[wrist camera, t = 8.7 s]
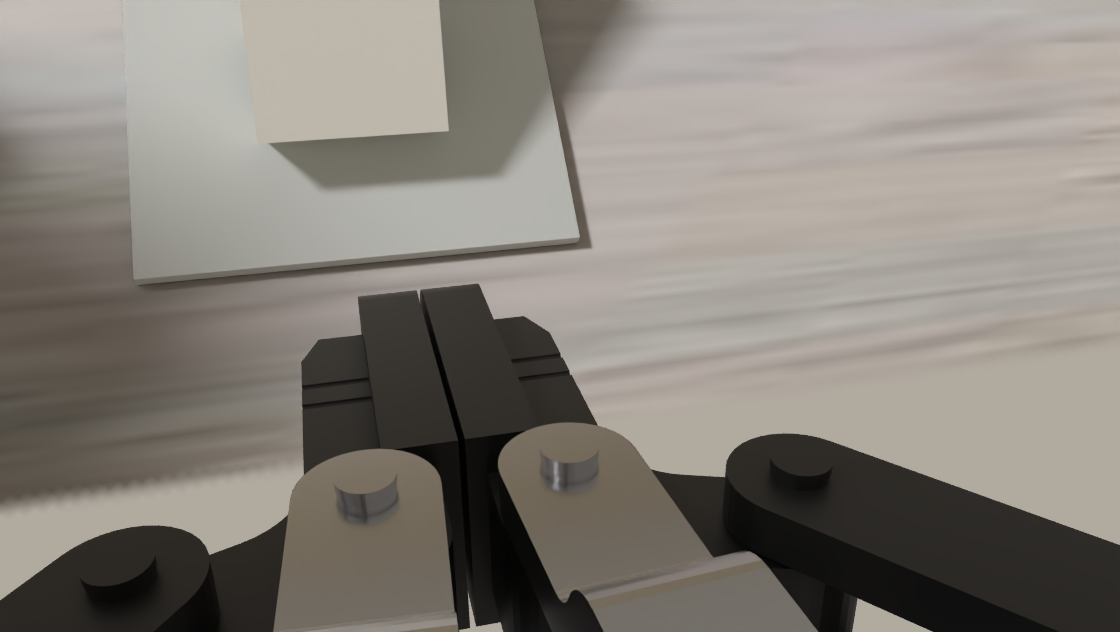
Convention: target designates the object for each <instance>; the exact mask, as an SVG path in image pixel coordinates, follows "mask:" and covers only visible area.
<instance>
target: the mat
mask: <svg viewBox="0 0 1120 632" xmlns="http://www.w3.org/2000/svg"><path fill="white" fill-rule="evenodd" d="M439 8H440V22H441V35H442V48H443V61H444V74H445V87H446V101H447V114H448V127H449V131H443V132H428V133H413V134H398V135H382V136H367V137H352V138H337V139H322V140H307V141H292V142H276V143H261V144H258V143H257V135H256V127H255V119H254V111H253V103H252V95H251V87H250V80H249V72H248V64H247V56H246V48H245V40H244V32H243V24H242V16H241V9H240V1H239V0H122V21H123V45H124V68H125V92H126V116H127V139H128V163H129V187H130V210H131V234H132V258H133V280H134V281H135V283H136V284H137V285H143V284H153V283H164V282H174V281H185V280H195V279H206V278H216V277H227V276H237V275H247V274H258V273H268V272H279V271H289V270H300V269H310V268H321V267H331V266H341V265H352V264H362V263H373V262H383V261H394V260H404V259H414V258H425V257H435V256H446V255H456V254H467V253H477V252H488V251H498V250H508V249H519V248H529V247H540V246H550V245H561V244H571V243H578V240H579V238H580V235H579V230H578V225H577V220H576V214H575V209H574V204H573V199H572V194H571V189H570V183H569V178H568V173H567V168H566V163H565V158H564V152H563V147H562V142H561V137H560V132H559V127H558V121H557V116H556V111H555V106H554V101H553V96H552V90H551V85H550V80H549V75H548V70H547V65H546V59H545V54H544V49H543V44H542V39H541V34H540V28H539V23H538V18H537V13H536V8H535V3H534V0H439Z"/></svg>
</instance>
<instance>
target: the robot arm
mask: <svg viewBox="0 0 1120 632" xmlns="http://www.w3.org/2000/svg"><path fill="white" fill-rule="evenodd" d="M358 304H359V314H360V323H361V332H362V335H357V336H348V337H340V338H331V339H322V340H318V342H317V343H316V344H315V345H314V347H313V348H312V349H311V351H310V352H309V353H308V354H307V356H306V357H305V358H304V360H303V361H302V362H301V365H302V406H303V410H302V411H303V456H304V476H303V477H302V478H301V479H300V480H299V481H298V482H297V484H296V486H295V487H294V489H293V491H292V495H291V498H290V506H289V513H288V515H287V516H286V517H285V518H284V519H283V520H282V521H280V522H279V523H278V524H277V525H275V526H274V527H272V528H271V529H269V530H268V531H266V532H264V533H262V534H260V535H259V536H257V537H255V538H253V539H250V540H248V541H245V542H243V543H241V544H238V545H235V546H233V547H230V548H227V549H225V550H222V551H219V552H216V553H214V554H211V555H209V553H208V551H207V549H206V547H205V545H204V544H203V543H202V541H201V540H200V539H198V538H197V537H196V536H194V535H193V534H191V533H189V532H186V531H184V530H181V529H177V528H173V527H166V526H139V527H131V528H126V529H121V530H116V531H113V532H110V533H106V534H103V535H100V536H98V537H95V538H93V539H91V540H88V541H86V542H84V543H82V544H80V545H78V546H77V547H74V548H73V549H71V550H69V551H68V552H66V553H65V554H64V555H62V556H60V557H59V558H58V559H56V560H55V561H53V562H52V563H51V564H49V565H48V566H47V567H45V568H44V569H43V570H41V571H40V572H39V573H37V574H36V575H34V576H33V577H32V578H30V579H29V580H28V581H26V582H25V583H24V584H22V585H21V586H19V587H18V588H17V589H15V590H14V591H13V592H11V593H10V594H8V595H7V596H6V597H4V598H3V599H2V600H0V632H459V630H461V629H467V628H470V620H469V604H468V593H469V598H470V602H471V606H472V610H473V615H474V619H475V623H476V626H482V625H487V624H493V623H498V622H501V625H502V629H503V632H852V629H853V622H854V616H855V610H856V604H857V598H859V599H861V600H863V601H865V602H867V603H870V604H872V605H874V606H876V607H879V608H881V609H883V610H886V611H888V612H890V613H892V614H894V615H897V616H899V617H901V618H904V619H906V620H908V621H910V622H912V623H915V624H917V625H919V626H921V627H923V628H926V629H928V630H930V631H933V632H1120V545H1118V544H1115V543H1112V542H1109V541H1107V540H1104V539H1101V538H1098V537H1095V536H1093V535H1090V534H1087V533H1084V532H1081V531H1079V530H1076V529H1073V528H1070V527H1067V526H1065V525H1062V524H1059V523H1056V522H1054V521H1051V520H1048V519H1045V518H1043V517H1040V516H1037V515H1034V514H1031V513H1028V512H1026V511H1023V510H1020V509H1018V508H1015V507H1012V506H1009V505H1006V504H1003V503H1001V502H998V501H995V500H992V499H990V498H987V497H984V496H981V495H978V494H976V493H973V492H970V491H967V490H965V489H962V488H959V487H956V486H953V485H951V484H948V483H945V482H942V481H939V480H937V479H934V478H931V477H928V476H926V475H923V474H920V473H917V472H915V471H912V470H909V469H906V468H903V467H901V466H898V465H894V464H892V463H889V462H886V461H884V460H881V459H878V458H875V457H873V456H870V455H867V454H864V453H861V452H859V451H856V450H853V449H850V448H848V447H845V446H842V445H839V444H836V443H834V442H831V441H827V440H825V439H821V438H817V437H813V436H808V435H800V434H771V435H766V436H760V437H757V438H754V439H751V440H748V441H746V442H744V443H742V444H741V445H739V446H738V447H737V448H736V449H734V451H733V452H732V453H731V454H730V456H729V458H728V460H727V464H726V473H725V477H710V476H692V475H678V474H669V473H664V472H659V471H655V470H651V469H650V468H649V466H648V465H647V463H646V462H645V461H644V459H643V458H642V456H641V455H640V454H639V452H638V451H637V449H636V448H635V447H634V446H633V445H632V443H631V442H630V441H628V440H627V439H626V438H624V437H623V436H621V435H620V434H618V433H616V432H614V431H612V430H609V429H607V428H604V427H600V426H598V425H597V423H596V421H595V419H594V417H593V415H592V413H591V411H590V410H589V408H588V406H587V404H586V402H585V400H584V398H583V396H582V394H581V392H580V390H579V388H578V386H577V385H576V383H575V381H574V379H573V377H572V375H570V373H569V369H568V367H567V365H566V363H565V361H564V360H563V358H561V356H560V352H559V350H558V348H557V346H556V344H555V342H554V340H553V338H552V336H551V335H550V333H549V332H548V331H546V330H545V329H543V328H542V327H540V326H538V325H537V324H535V323H534V322H532V321H531V320H529V319H527V318H526V317H524V316H521V317H513V318H504V319H495V320H494V319H493V317H492V314H491V312H490V310H489V307H488V305H487V302H486V300H485V298H484V295H483V293H482V290H481V288H480V286H479V284H471V285H461V286H452V287H442V288H433V289H424V290H421V291H420V301H419V298H418V294H417V291H406V292H397V293H388V294H378V295H369V296H359V297H358Z"/></svg>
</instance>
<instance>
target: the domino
mask: <svg viewBox="0 0 1120 632" xmlns="http://www.w3.org/2000/svg"><path fill="white" fill-rule="evenodd" d="M239 1H240V9H241V16H242V24H243V32H244V40H245V48H246V56H247V64H248V72H249V80H250V87H251V95H252V103H253V111H254V119H255V127H256V135H257V143H258V144H261V143H276V142H292V141H307V140H322V139H337V138H352V137H367V136H382V135H398V134H413V133H428V132H443V131H449V127H448V114H447V101H446V87H445V74H444V61H443V48H442V35H441V22H440V8H439V0H239Z"/></svg>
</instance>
